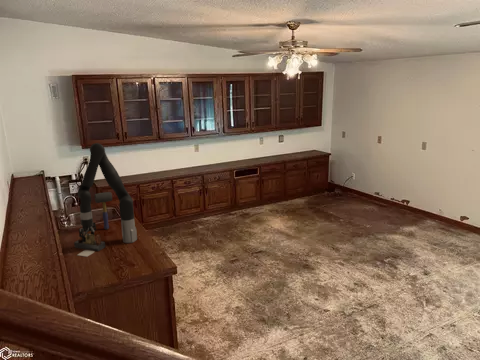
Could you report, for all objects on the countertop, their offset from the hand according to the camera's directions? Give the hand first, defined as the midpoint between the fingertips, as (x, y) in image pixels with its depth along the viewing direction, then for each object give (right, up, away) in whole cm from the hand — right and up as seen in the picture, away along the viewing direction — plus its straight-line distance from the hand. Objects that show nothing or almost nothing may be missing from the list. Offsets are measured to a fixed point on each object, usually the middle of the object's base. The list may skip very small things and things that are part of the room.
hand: (88, 239), depth 256 cm
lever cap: (0, -2, 0) cm, 2 cm away
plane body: (0, -6, +1) cm, 6 cm away
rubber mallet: (0, +3, +34) cm, 34 cm away
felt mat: (+2, -8, -8) cm, 12 cm away
